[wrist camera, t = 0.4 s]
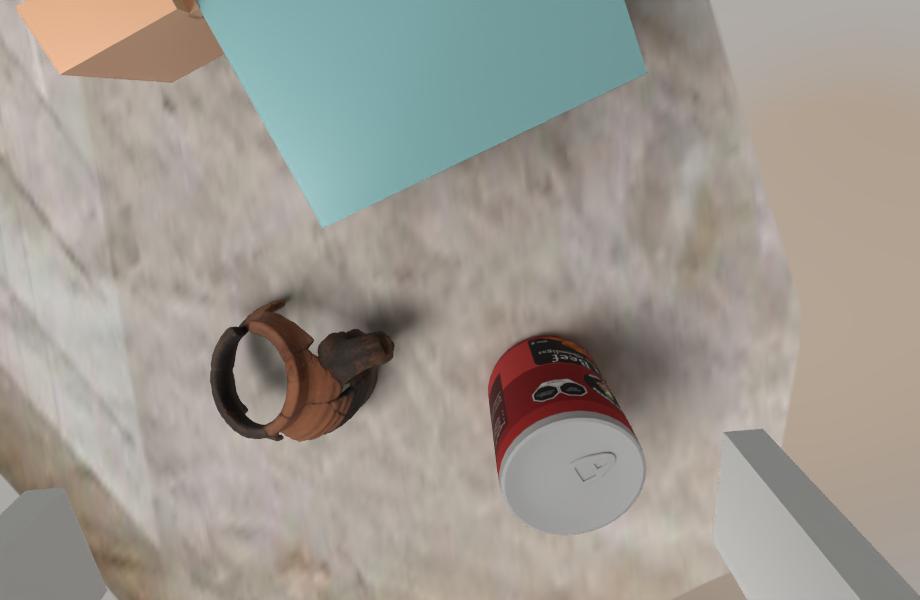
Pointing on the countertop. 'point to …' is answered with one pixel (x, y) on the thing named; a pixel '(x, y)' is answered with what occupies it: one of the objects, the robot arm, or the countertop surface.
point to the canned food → (561, 439)
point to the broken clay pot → (301, 376)
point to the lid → (362, 73)
